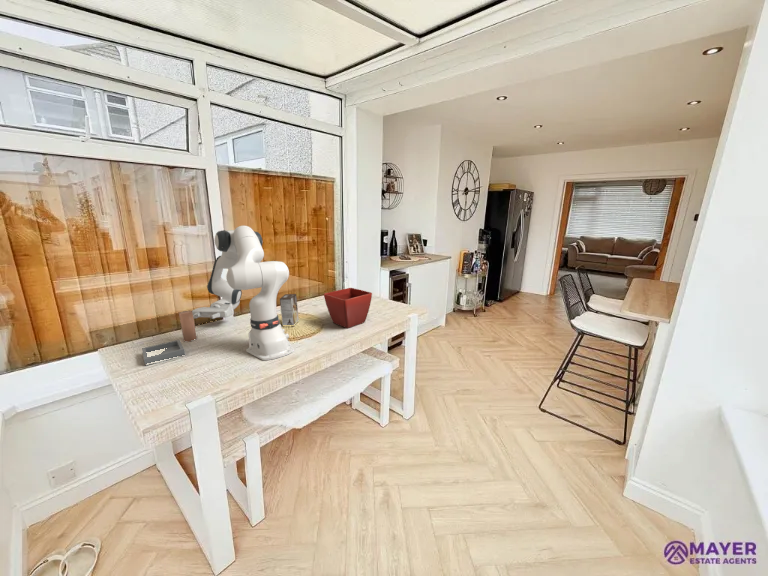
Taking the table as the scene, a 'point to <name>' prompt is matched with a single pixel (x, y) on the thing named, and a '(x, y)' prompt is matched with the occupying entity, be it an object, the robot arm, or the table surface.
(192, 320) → the terracotta jar
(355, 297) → the plant pot
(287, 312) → the coffee box
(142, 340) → the table surface
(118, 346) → the table surface
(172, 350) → the box
